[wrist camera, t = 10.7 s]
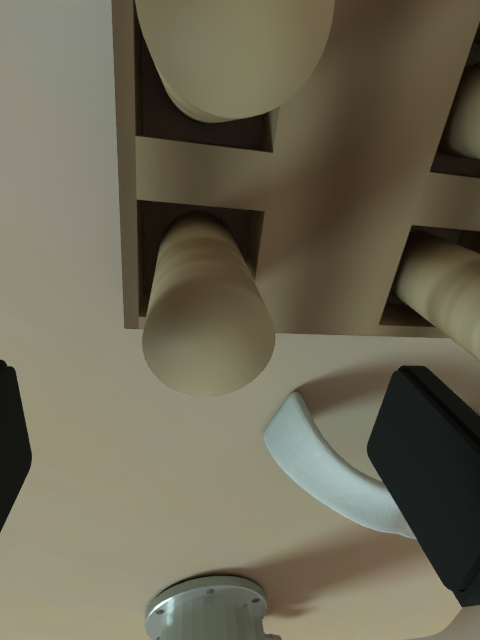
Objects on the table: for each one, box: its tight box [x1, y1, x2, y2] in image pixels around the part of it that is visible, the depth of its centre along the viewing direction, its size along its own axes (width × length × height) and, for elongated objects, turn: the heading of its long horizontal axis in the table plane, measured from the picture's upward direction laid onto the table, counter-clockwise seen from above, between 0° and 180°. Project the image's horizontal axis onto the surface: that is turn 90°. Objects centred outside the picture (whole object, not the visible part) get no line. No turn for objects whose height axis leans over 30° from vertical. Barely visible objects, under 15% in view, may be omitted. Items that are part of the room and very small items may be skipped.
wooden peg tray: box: [112, 0, 480, 361], centre depth 14 cm, size 20×15×10 cm
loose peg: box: [142, 210, 275, 396], centre depth 15 cm, size 4×4×10 cm
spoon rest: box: [264, 391, 417, 540], centre depth 27 cm, size 24×12×7 cm, turn 64°
